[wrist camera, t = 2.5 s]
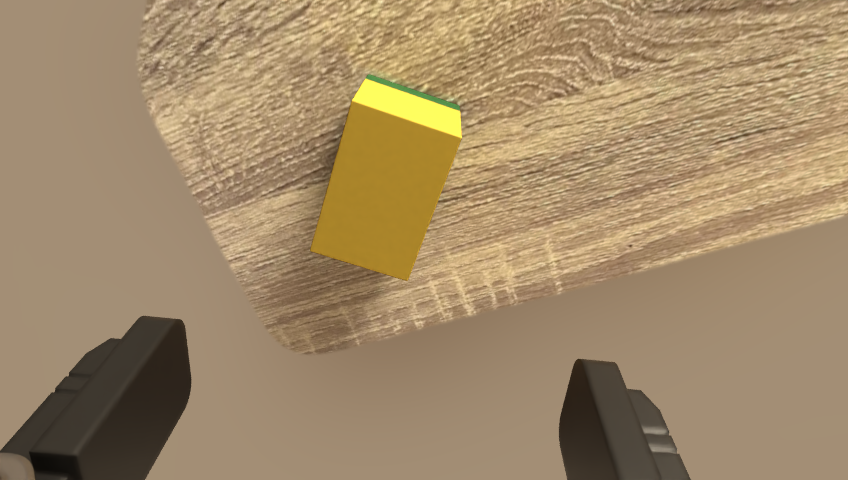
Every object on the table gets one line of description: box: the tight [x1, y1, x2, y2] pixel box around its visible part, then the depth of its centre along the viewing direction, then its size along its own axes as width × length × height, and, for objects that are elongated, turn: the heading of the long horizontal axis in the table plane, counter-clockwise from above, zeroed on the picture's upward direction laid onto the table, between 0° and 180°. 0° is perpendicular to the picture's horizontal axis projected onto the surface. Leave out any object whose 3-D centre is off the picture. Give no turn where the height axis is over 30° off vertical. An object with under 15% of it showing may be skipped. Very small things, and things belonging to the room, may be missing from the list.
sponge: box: [310, 75, 462, 281], centre depth 26 cm, size 4×7×5 cm, turn 161°
